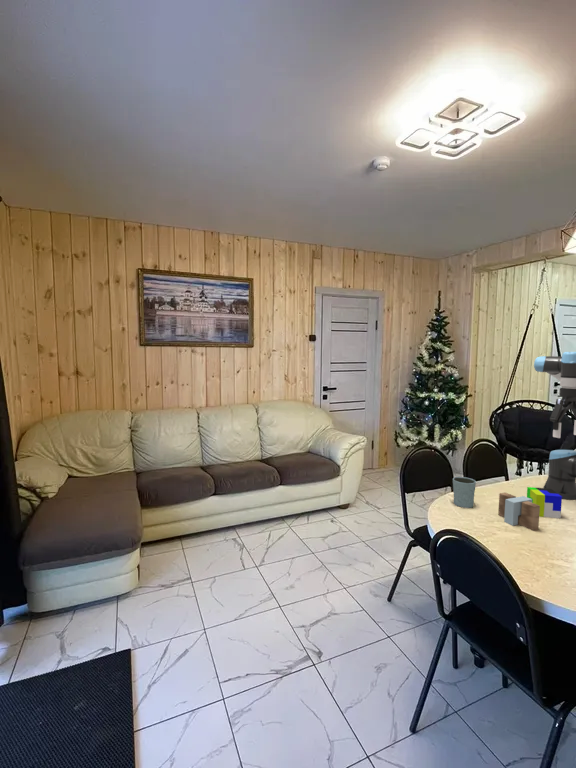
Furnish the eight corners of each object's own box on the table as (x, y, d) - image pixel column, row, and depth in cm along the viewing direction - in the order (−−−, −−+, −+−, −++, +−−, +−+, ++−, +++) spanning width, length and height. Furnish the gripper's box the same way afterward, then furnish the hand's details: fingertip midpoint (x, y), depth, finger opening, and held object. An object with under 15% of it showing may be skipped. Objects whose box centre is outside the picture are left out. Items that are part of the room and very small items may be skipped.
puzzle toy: (560, 518, 167) (562, 496, 166) (535, 516, 169) (536, 494, 168) (549, 509, 177) (551, 488, 176) (526, 507, 179) (527, 487, 178)
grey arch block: (522, 518, 167) (523, 496, 166) (530, 521, 163) (532, 499, 162) (504, 521, 163) (505, 499, 162) (512, 525, 159) (513, 502, 158)
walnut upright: (498, 515, 170) (499, 493, 169) (503, 513, 171) (505, 492, 170) (532, 530, 155) (533, 506, 154) (538, 529, 156) (539, 505, 155)
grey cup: (467, 510, 175) (468, 484, 174) (447, 503, 183) (448, 478, 182) (478, 505, 181) (480, 480, 180) (458, 498, 189) (459, 475, 188)
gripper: (580, 386, 170) (576, 432, 172) (541, 387, 161) (538, 436, 163) (598, 387, 163) (595, 436, 165) (559, 389, 154) (556, 440, 156)
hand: (567, 436), depth 164 cm, fingers open, 13 cm apart
